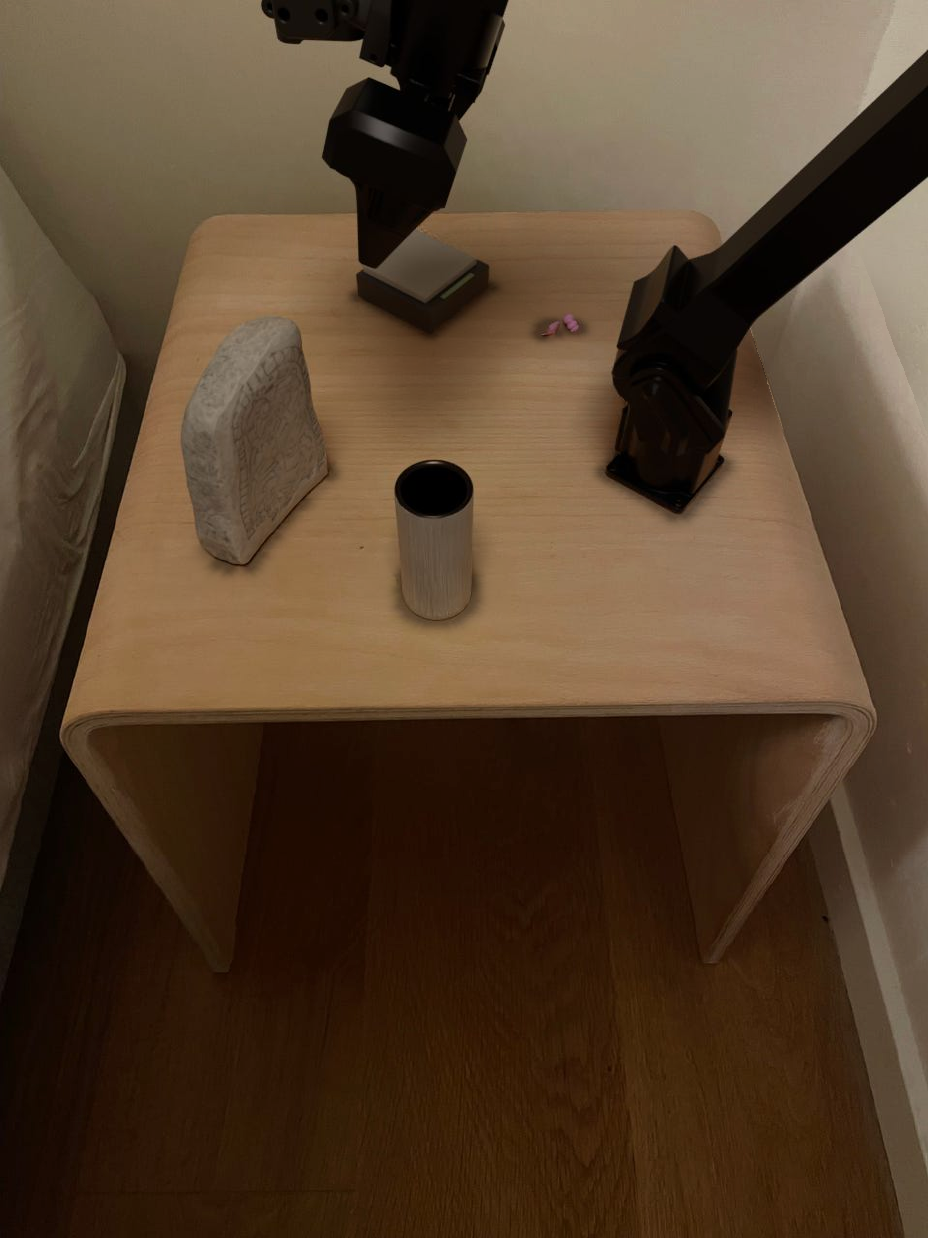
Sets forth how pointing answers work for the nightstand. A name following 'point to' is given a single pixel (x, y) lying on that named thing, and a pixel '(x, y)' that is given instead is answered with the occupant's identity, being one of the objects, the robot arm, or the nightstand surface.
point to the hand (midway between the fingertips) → (384, 222)
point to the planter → (435, 537)
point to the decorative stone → (251, 438)
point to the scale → (424, 281)
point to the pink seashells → (567, 319)
